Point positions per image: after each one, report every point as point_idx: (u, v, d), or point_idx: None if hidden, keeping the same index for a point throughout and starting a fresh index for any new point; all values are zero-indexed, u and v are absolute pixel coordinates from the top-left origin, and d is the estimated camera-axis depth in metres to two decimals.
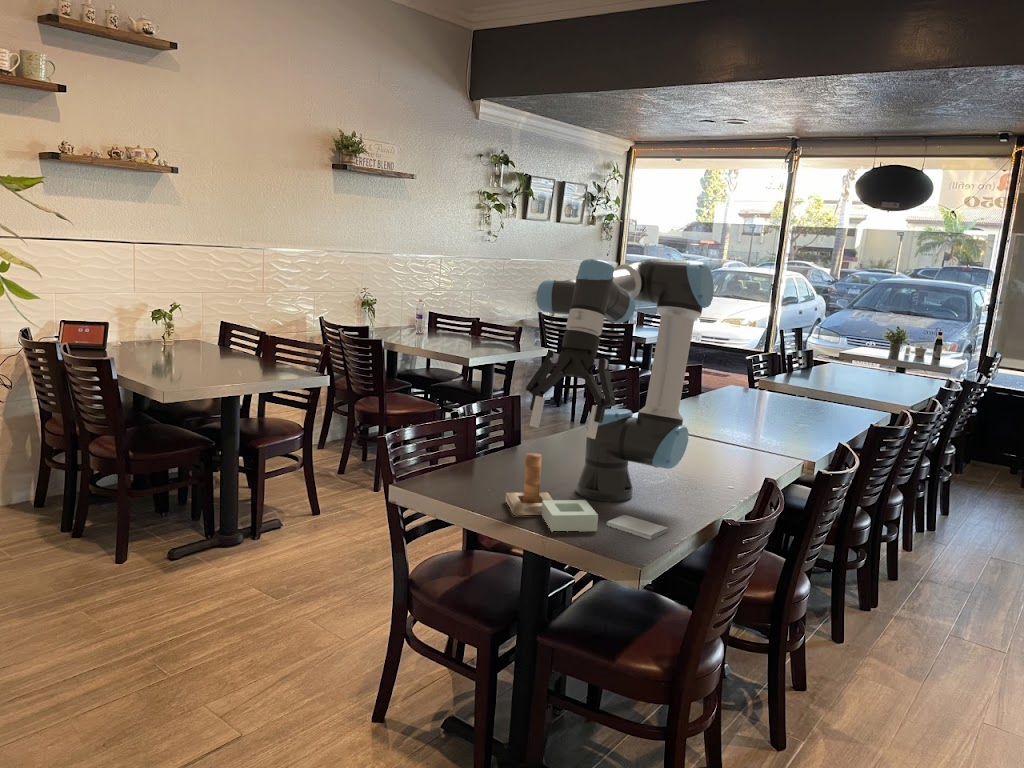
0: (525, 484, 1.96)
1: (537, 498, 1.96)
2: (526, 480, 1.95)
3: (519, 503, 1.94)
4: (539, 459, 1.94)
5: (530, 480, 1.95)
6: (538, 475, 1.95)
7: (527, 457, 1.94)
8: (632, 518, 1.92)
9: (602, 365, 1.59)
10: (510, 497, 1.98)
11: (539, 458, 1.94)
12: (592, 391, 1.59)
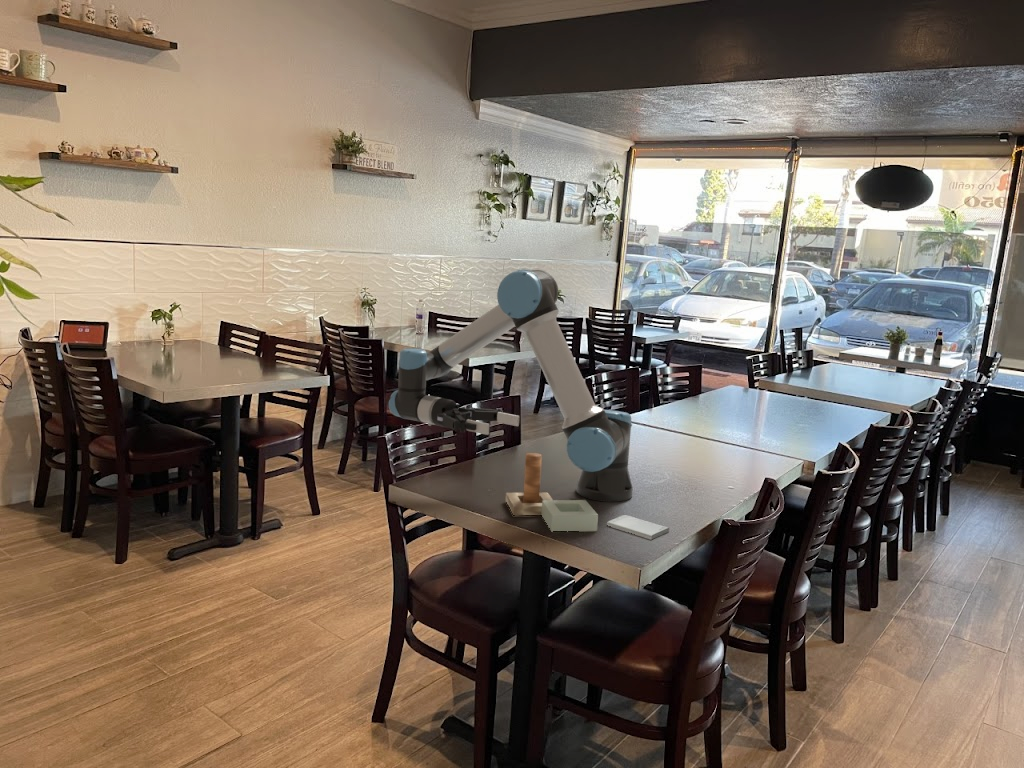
0: (525, 484, 1.96)
1: (537, 498, 1.96)
2: (526, 480, 1.95)
3: (519, 503, 1.94)
4: (539, 459, 1.94)
5: (530, 480, 1.95)
6: (538, 475, 1.95)
7: (527, 457, 1.94)
8: (632, 518, 1.91)
9: None
10: (510, 497, 1.98)
11: (539, 458, 1.94)
12: None
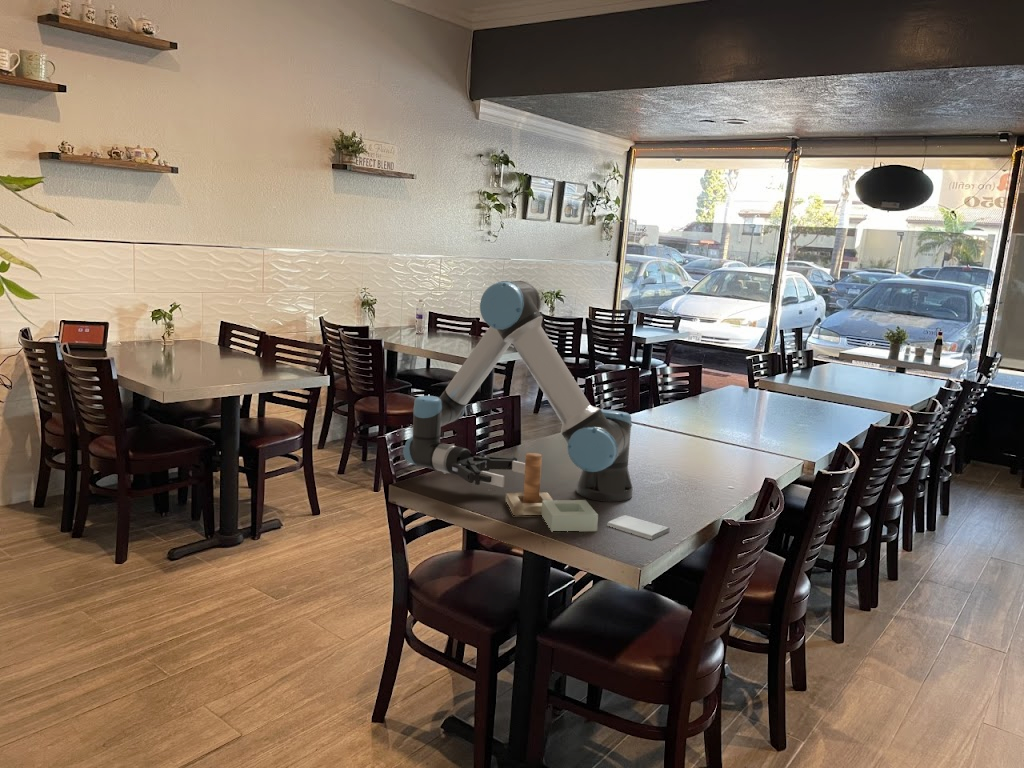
0: (525, 484, 1.96)
1: (537, 498, 1.96)
2: (526, 480, 1.95)
3: (519, 503, 1.94)
4: (539, 459, 1.94)
5: (530, 480, 1.95)
6: (538, 475, 1.95)
7: (527, 457, 1.94)
8: (632, 518, 1.91)
9: None
10: (510, 497, 1.98)
11: (539, 458, 1.94)
12: None
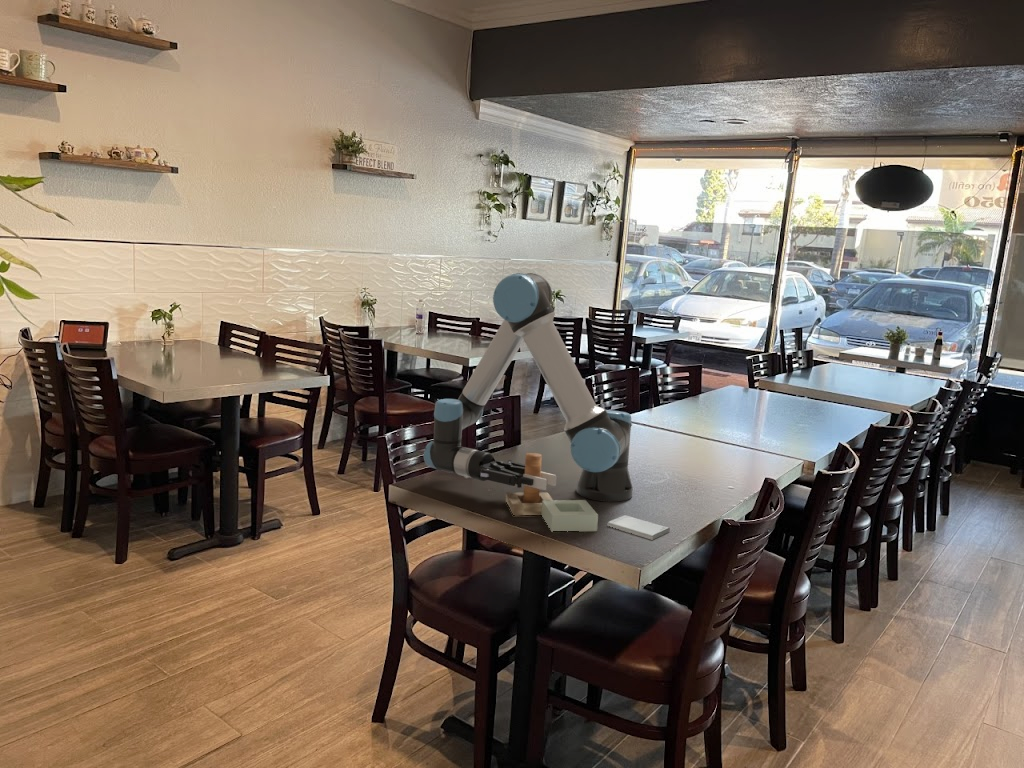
0: None
1: (537, 498, 1.96)
2: None
3: (519, 503, 1.94)
4: (539, 459, 1.94)
5: None
6: (538, 475, 1.95)
7: (527, 457, 1.94)
8: (632, 518, 1.91)
9: None
10: (510, 497, 1.98)
11: (539, 458, 1.94)
12: None
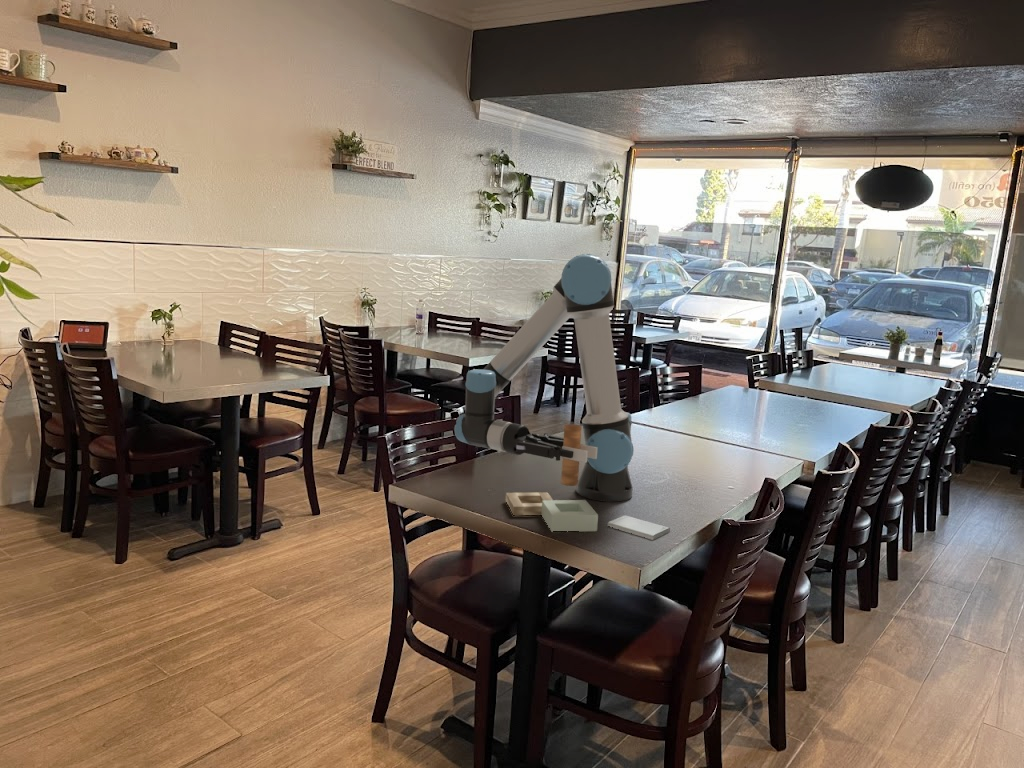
0: None
1: (576, 472, 1.85)
2: None
3: (519, 503, 1.94)
4: (579, 430, 1.83)
5: None
6: (578, 447, 1.84)
7: (566, 428, 1.84)
8: (632, 518, 1.91)
9: None
10: (510, 497, 1.98)
11: (579, 429, 1.83)
12: None
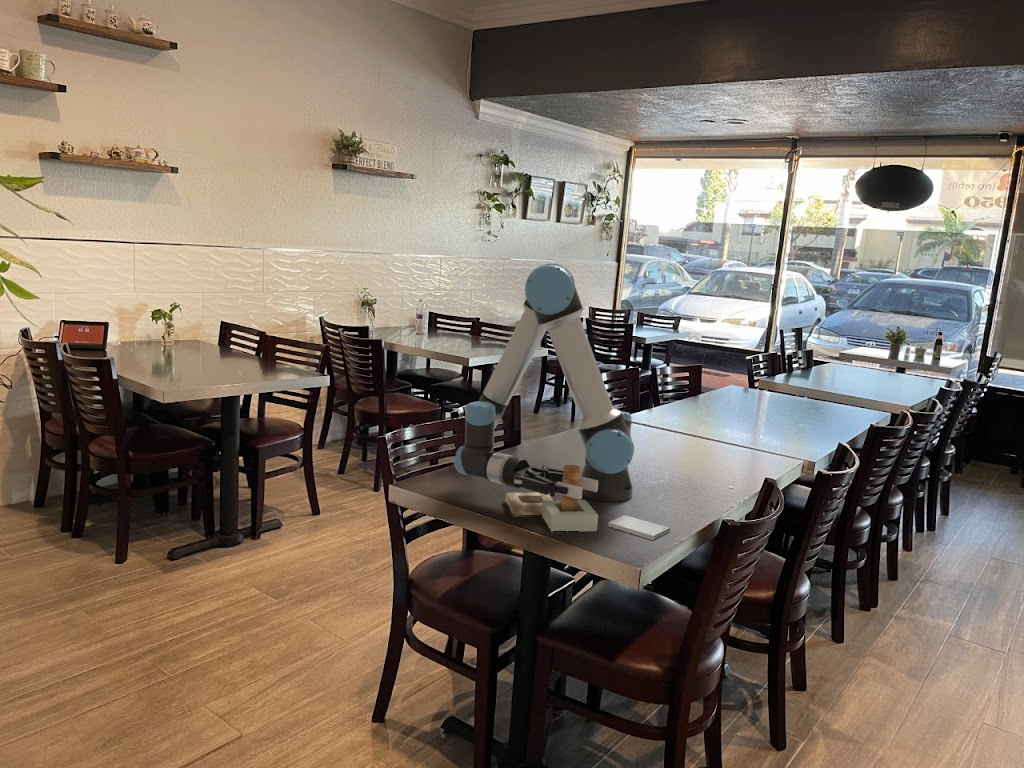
0: (563, 498, 1.86)
1: None
2: None
3: (519, 503, 1.94)
4: (578, 471, 1.85)
5: None
6: None
7: (565, 469, 1.85)
8: (633, 518, 1.91)
9: None
10: (510, 497, 1.98)
11: (578, 470, 1.85)
12: None
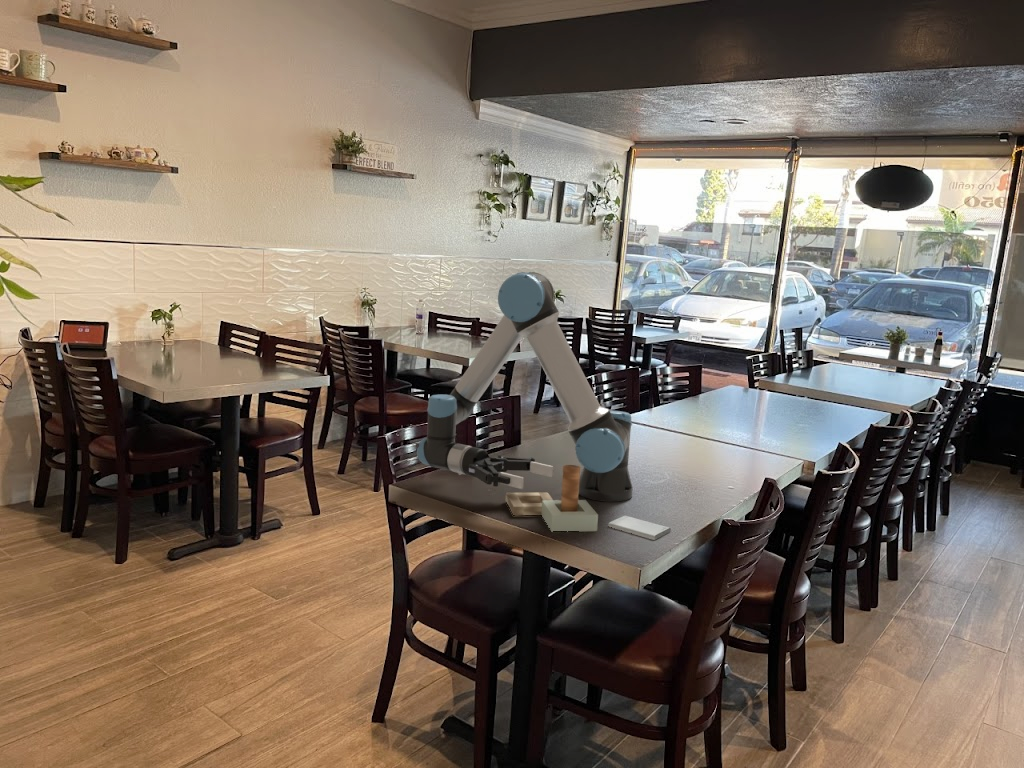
0: (563, 498, 1.86)
1: None
2: (564, 493, 1.86)
3: (519, 503, 1.94)
4: (578, 471, 1.85)
5: (568, 494, 1.85)
6: (576, 488, 1.86)
7: (565, 469, 1.85)
8: (633, 519, 1.91)
9: None
10: (510, 497, 1.98)
11: (578, 470, 1.85)
12: None
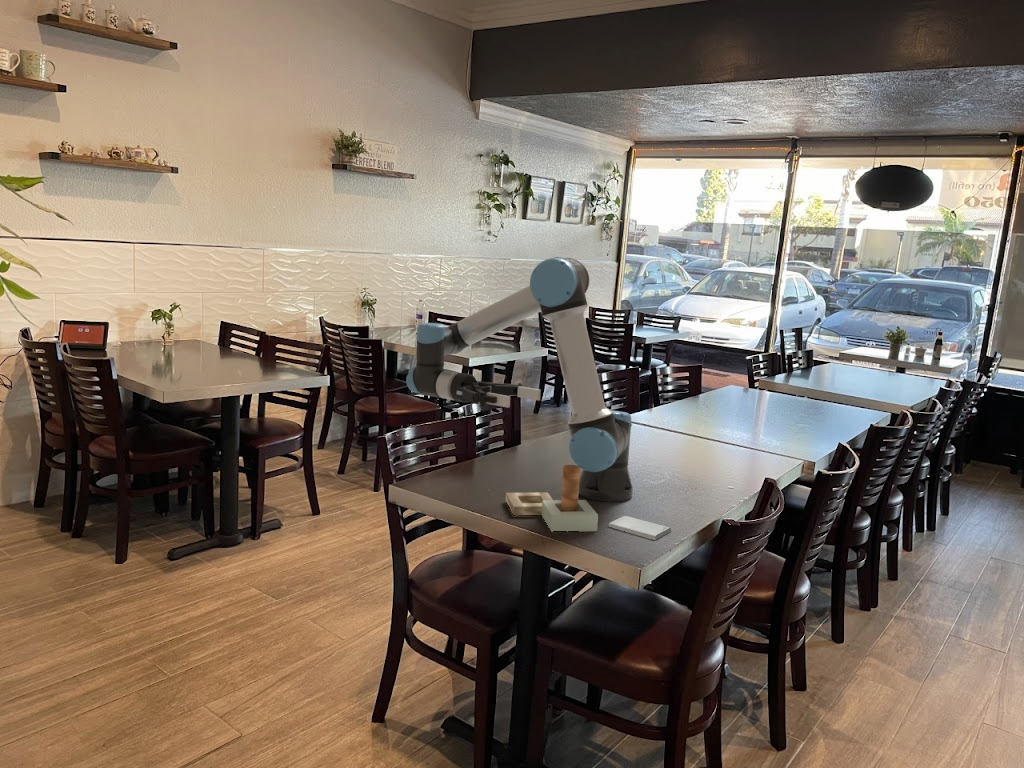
0: (563, 498, 1.86)
1: None
2: (564, 493, 1.86)
3: (519, 503, 1.94)
4: (578, 471, 1.85)
5: (568, 494, 1.85)
6: (576, 488, 1.86)
7: (565, 469, 1.85)
8: (633, 519, 1.91)
9: None
10: (510, 497, 1.98)
11: (578, 470, 1.85)
12: None
